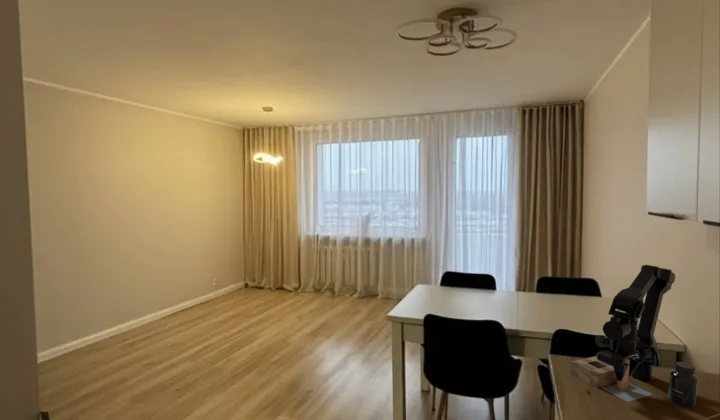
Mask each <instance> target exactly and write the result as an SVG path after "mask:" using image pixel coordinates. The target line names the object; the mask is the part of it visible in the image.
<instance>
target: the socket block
mask: <svg viewBox="0 0 720 420" xmlns="http://www.w3.org/2000/svg"><path fill="white" fill-rule="evenodd" d="M570 374H571V375H572V376H573V377H574V378H578V379H579V380H581V381H583V382H585V383H587V384H589V385H590V386H592V387H595V388H596V389H597V388H602V387H606V386H610V385H614V384H617V377H616V374H615V371H614V368H613V366H611V365H609V364H607V363H604V362H602V361H600V360H598V359H597V355H595V356H591V357H585V358H581V359H577V360H573V361H571V368H570Z"/></svg>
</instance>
